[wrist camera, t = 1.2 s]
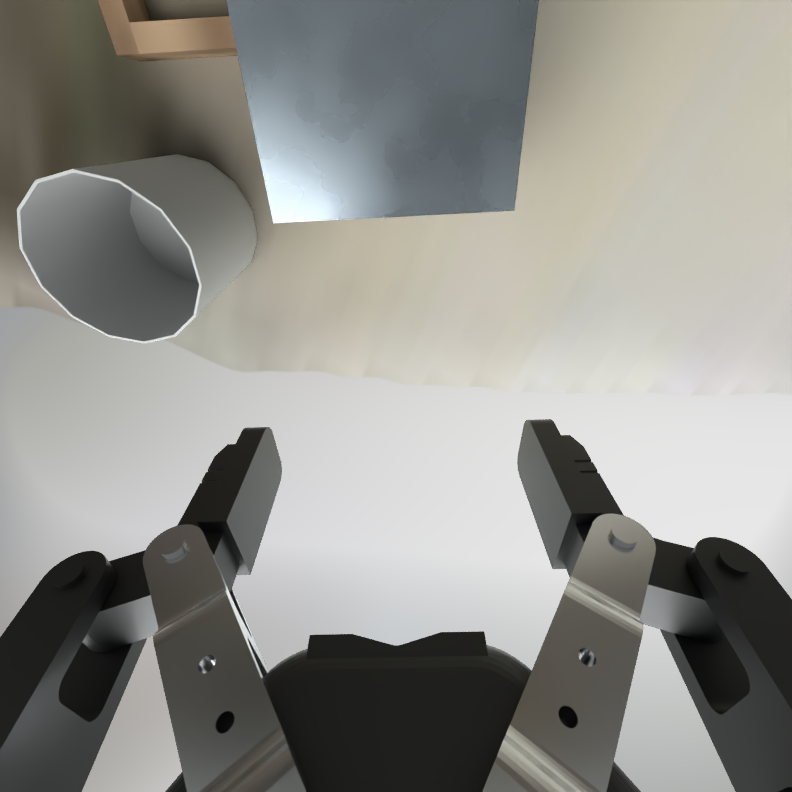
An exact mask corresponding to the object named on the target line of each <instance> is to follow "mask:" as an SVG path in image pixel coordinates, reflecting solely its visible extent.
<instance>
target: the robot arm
mask: <svg viewBox="0 0 792 792" xmlns="http://www.w3.org/2000/svg"><path fill="white" fill-rule="evenodd" d="M518 471H519V475H520V478H521V481H522V484H523V486H524V489H525V492H526V495H527V498H528V501H529V503H530V506H531V509H532V512H533V515H534V517H535V520H536V523H537V526H538V529H539V532H540V534H541V537H542V540H543V543H544V546H545V549H546V551H547V554H548V557H549V560H550V563H551V566H552V568H553V569H567V571H568V574H569V576H570V579H569V582H568V584H567V586H566V589H565V591H564V594H563V596H562V598H561V601H560V603H559V606H558V608H557V611H556V613H555V616H554V618H553V620H552V623H551V626H550V628H549V630H548V633H547V635H546V638H545V640H544V642H543V645H542V647H541V650H540V653H539V655H538V657H537V660H536V662H535V664H534V667H533V670H532V671H531V670H530V669H529V668H528V667H527V666H526V665H525V664H523V663H522V662H520V661H519V660H517V659H516V658H515V657H513V656H511V655H510V654H508V653H506V652H504V651H502V650H499V649H497V648H495V647H491V646H488V645H486V640H485V635H484V632H442V633H438V634H435V635H432V636H428V637H425V638H422V639H419V640H415V641H412V642H409V643H406V644H403V645H399V646H394V645H390V644H386V643H382V642H379V641H375V640H372V639H368V638H364V637H361V636H356V635H353V634H340V635H310V638H309V644H308V649H305V650H303V651H300V652H298V653H296V654H294V655H292V656H290V657H288V658H286V659H285V660H283V661H281V662H280V663H279V664H277V665H276V666H275V667H274V668H272V669H271V670H270V671H268V668H267V667H266V664H265V662H264V660H263V658H262V656H261V654H260V652H259V649H258V647H257V645H256V643H255V640H254V638H253V636H252V633H251V631H250V629H249V626H248V624H247V622H246V619H245V617H244V615H243V612H242V610H241V608H240V605H239V603H238V601H237V598H236V596H235V593H234V591H233V589H232V586H233V583H234V580H235V577H236V575H247V574H248V575H250V574H251V571H252V568H253V565H254V562H255V558H256V556H257V552H258V549H259V546H260V543H261V540H262V537H263V534H264V531H265V527H266V524H267V521H268V518H269V515H270V512H271V509H272V505H273V502H274V499H275V496H276V493H277V490H278V487H279V484H280V480H281V473H282V467H281V461H280V457H279V454H278V450H277V447H276V443H275V440H274V436H273V433H272V430H271V429H270V428H269V427H260V428H259V427H258V428H245V429H243V431H242V432H241V435H240V437H239V439H238V441H237V443H236V444H233V445H232V444H231V445H227V446H226V447H225V448H224V449H223V450H221V451H220V452H219V453H218V454H217V455H216V456H215V457H214V459H213V461H212V463H211V465H210V467H209V469H208V472H207V473H206V474H205V476H204V478H203V480H202V483H201V484H200V485H199V487H198V489H197V491H196V493H195V495H194V496H193V498H192V500H191V502H190V503H189V505H188V507H187V509H186V511H185V513H184V515H183V516H182V518H181V520H180V522H179V524H178V525H177V526H175V527H173V528H170V529H168V530H166V531H164V532H163V533H161V534H160V535H158V536H157V537H156V538H155V539H154V540H153V541H152V542H151V543H150V545H149V546H148V547H147V549H146V550H145V551H142V552H139V553H136V554H132V555H129V556H125V557H122V558H119V559H116V560H112V561H108V560H107V559H106V557H105V556H104V555H103V554H102V553H99V552H96V551H86V552H81V553H78V554H75V555H73V556H71V557H68V558H67V559H65V560H63V561H61V562H60V563H59V564H57V565H56V566H54V567H53V568H52V569H51V570H50V571H49V572H48V573H47V574H46V575H45V576H44V577H43V579H42V580H41V581H40V583H39V584H38V586H37V587H36V588H35V590H34V591H33V593H32V594H31V595H30V597H29V598H28V599H27V601H26V602H25V604H24V605H23V606H22V608H21V609H20V611H19V612H18V613H17V615H16V616H15V618H14V619H13V621H12V622H11V623H10V625H9V626H8V627H7V629H6V630H5V632H4V633H3V634H2V636H1V637H0V792H82V789H83V787H84V785H85V782H86V780H87V777H88V775H89V773H90V771H91V768H92V766H93V764H94V761H95V759H96V757H97V754H98V752H99V749H100V747H101V745H102V742H103V740H104V738H105V735H106V733H107V731H108V729H109V726H110V724H111V721H112V719H113V717H114V714H115V712H116V710H117V707H118V705H119V703H120V700H121V698H122V696H123V693H124V691H125V689H126V686H127V684H128V682H129V679H130V677H131V675H132V672H133V670H134V668H135V665H136V663H137V661H138V658H139V656H140V653H141V651H142V649H143V647H144V644H145V642H146V639H147V638H148V637H151V636H153V641H154V647H155V651H156V656H157V660H158V664H159V669H160V674H161V678H162V683H163V687H164V692H165V696H166V700H167V705H168V709H169V714H170V718H171V723H172V727H173V732H174V736H175V740H176V745H177V749H178V754H179V758H180V763H181V767H182V773H181V774H180V775H179V776H178V777H177V779H176V780H175V781H174V782H173V783H172V785H171V786H170V787H169V788H168V789H167V790H166V792H640V790H639V789H638V788H637V787H636V786H635V785H634V784H633V782H632V781H631V780H630V779H629V778H628V777H627V776H626V775H625V774H624V772H623V771H622V770H621V769H620V768H619V767H618V766H617V765H616V764H615V762H614V757H615V752H616V748H617V744H618V739H619V735H620V731H621V726H622V722H623V717H624V713H625V708H626V704H627V700H628V695H629V691H630V686H631V682H632V678H633V673H634V669H635V665H636V660H637V656H638V652H639V647H640V643H641V638H642V633H643V624H645V625H648V626H652V627H655V628H658V629H660V630H661V632H662V635H663V636H664V639H665V641H666V643H667V645H668V647H669V650H670V651H671V654H672V656H673V658H674V660H675V662H676V665H677V667H678V669H679V671H680V673H681V675H682V677H683V680H684V682H685V684H686V686H687V688H688V690H689V693H690V695H691V696H692V699H693V701H694V703H695V705H696V707H697V710H698V712H699V714H700V716H701V718H702V720H703V723H704V724H705V727H706V729H707V731H708V733H709V735H710V737H711V740H712V742H713V744H714V746H715V748H716V751H717V753H718V755H719V757H720V759H721V761H722V763H723V765H724V768H725V770H726V772H727V774H728V776H729V778H730V781H731V783H732V785H733V787H734V789H735V791H736V792H792V599H791V598H790V597H789V595H788V594H787V593H786V591H785V590H784V589H783V588H782V586H781V585H780V584H779V582H778V581H777V580H776V578H775V577H774V576H773V574H772V573H771V572H770V571H769V569H768V568H767V567H766V565H765V564H764V563H763V562H762V561H761V560H760V559H759V558H758V557H757V556H756V555H755V554H753V553H752V552H751V551H749V550H748V549H746V548H745V547H743V546H741V545H739V544H737V543H735V542H732V541H730V540H727V539H722V538H716V537H709V538H705V539H702V540H700V541H699V542H698V543H697V545H696V547H695V548H690V547H686V546H682V545H678V544H674V543H670V542H665V541H662V540H659V539H655V538H653V537H652V536H651V534H650V533H649V532H648V531H647V530H646V529H645V528H644V527H643V526H642V525H640V524H639V523H638V522H636V521H634V520H633V519H631V518H628V517H626V516H624V515H623V514H622V512H621V510H620V508H619V507H618V505H617V503H616V502H615V500H614V498H613V496H612V495H611V493H610V491H609V490H608V488H607V486H606V484H605V483H604V481H603V479H602V478H601V476H600V474H598V473H597V469H596V467H595V466H594V464H593V463H592V462H591V459H590V457H589V456H588V454H587V452H586V450H585V449H584V447H583V446H582V445H581V444H580V443H579V442H577V441H576V440H575V439H574V438H573V437H571V436H570V435H565V436H564V435H563V436H561V435H560V433H559V431H558V429H557V427H556V425H555V424H554V422H553V421H552V420H551V419H549V420H548V419H546V420H526V421H525V423H524V428H523V433H522V437H521V442H520V448H519V453H518Z"/></svg>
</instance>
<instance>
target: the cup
mask: <svg viewBox="0 0 792 792" xmlns="http://www.w3.org/2000/svg"><path fill="white" fill-rule="evenodd" d="M17 218H18V232H19V246H20V249H21V251H22V253H23V255H24V257H25V259H26V261H27V263H28V264H29V266H30V268H31V270H32V272H33V274H34V276H35V277H36V279H37V281H38V283H39V285H40V286H41V287H42V288H43V289H44V290H45V291H46V292H47V293H48V294H49V295H50V296H51V297H52V298H53V299H54V300H55V301H56V302H57V303H58V304H59V305H60V306H61V307H62V308H63V309H64V310H65V311H66V312H67V313H68V314H69V315H70V316H71V317H73V318H75V319H76V320H78V321H80V322H82V323H84V324H86V325H88V326H90V327H91V328H93V329H95V330H97V331H99V332H101V333H103V334H104V335H106V336H108V337H112V338H118V339H123V340H129V341H134V342H139V343H149V342H154V341H158V340H163V339H167V338H172V337H176V336H177V335H178V334H179V333H180V332H181V331H182V330H183V329H184V328H185V327H186V326H187V325H188V324H189V323H190V322H191V321H192V320H193V319H194V318H195V317H196V316H197V315H198V314H199V313H200V312H201V311H202V310H203V309H204V308H205V307H206V306H207V305H208V304H209V303H210V302H211V301H212V300H214V299H215V298H216V297H217V296H218V295H219V294H220V293H221V292H222V291H223V290H224V289H225V288H226V287H227V286H228V285H229V284H230V283H231V282H232V281H233V280H234V279H235V278H236V277H237V276H238V275H239V274H240V273H241V272H242V271H243V270H244V269H245V268H246V267H247V266H248V265H249V264H250V263H251V262H252V259H253V256H254V252H255V248H256V244H257V240H258V235H257V230H256V225H255V220H254V215H253V210H252V208H251V207H250V205H249V203H248V202H247V200H246V199H245V197H244V196H243V194H242V192H241V191H240V189H239V188H238V186H237V185H236V183H235V182H234V181H233V180H232V179H230V178H229V177H228V176H226V175H225V174H224V173H222V172H221V171H220V170H218V169H217V168H216V167H214V166H213V165H212V164H210V163H209V162H207V161H203V160H199V159H195V158H191V157H187V156H183V155H179V154H175V155H168V156H161V157H154V158H147V159H140V160H133V161H126V162H119V163H112V164H105V165H98V166H91V167H84V168H77V169H71V170H68V171H64V172H61V173H58V174H54V175H51V176H48V177H44V178H41V179H38V180H35V182H34V183H33V185H32V186H31V188H30V189H29V191H28V193H27V194H26V196H25V197H24V199H23V201H22V202H21V204H20V205H19V207H18V208H17Z"/></svg>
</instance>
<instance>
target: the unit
mask: <svg viewBox="0 0 792 792" xmlns="http://www.w3.org/2000/svg"><path fill="white" fill-rule="evenodd" d="M538 1H539V0H226V2H227V7H228V12H229V17H230V21H231V26H232V31H233V35H234V40H235V45H236V49H237V54H238V59H239V64H240V68H241V73H242V78H243V82H244V87H245V92H246V97H247V101H248V106H249V111H250V115H251V120H252V125H253V129H254V134H255V139H256V144H257V148H258V153H259V158H260V162H261V167H262V172H263V177H264V181H265V186H266V191H267V195H268V200H269V205H270V209H271V214H272V219H273V223H287V222H306V221H325V220H344V219H363V218H382V217H401V216H420V215H440V214H459V213H478V212H497V211H514V209H515V200H516V191H517V183H518V174H519V166H520V157H521V148H522V140H523V131H524V122H525V114H526V105H527V96H528V88H529V79H530V71H531V62H532V53H533V45H534V36H535V27H536V19H537V10H538Z"/></svg>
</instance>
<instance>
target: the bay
mask: <svg viewBox="0 0 792 792" xmlns="http://www.w3.org/2000/svg"><path fill="white" fill-rule="evenodd" d="M98 2H99V5H100V8H101V11H102V14H103V17H104V19H105V22H106V25H107V28H108V31H109V34H110V37H111V40H112V43H113V45H114V48H115V51H116V54H117V55H118V56H122V57H126V58H130V59H134V60H138V61H153V60H168V59H184V58H200V57H216V56H232V55H238V54H237V49H236V45H235V40H234V35H233V31H232V26H231V21H230V17H229V16H221V17H206V18H191V19H175V20H160V21H150V19H149V16H148V12H147V9H146V6H145V2H144V0H98Z"/></svg>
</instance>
